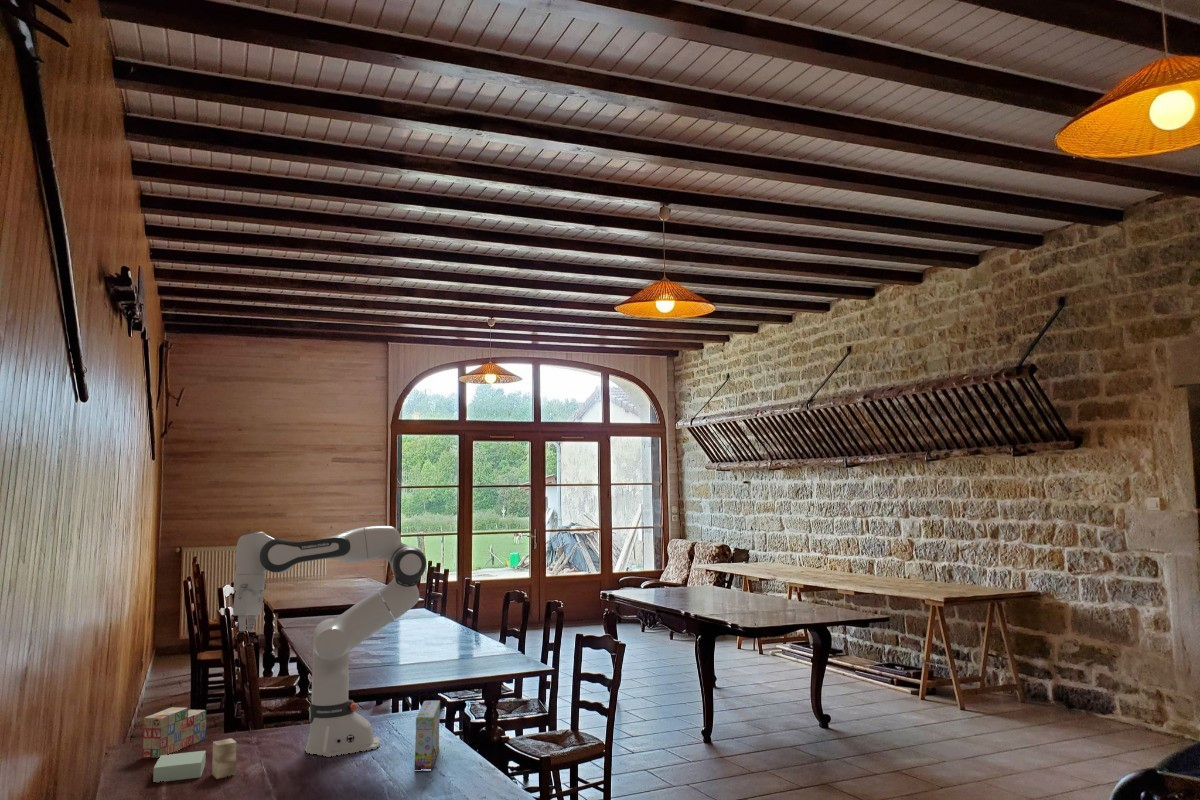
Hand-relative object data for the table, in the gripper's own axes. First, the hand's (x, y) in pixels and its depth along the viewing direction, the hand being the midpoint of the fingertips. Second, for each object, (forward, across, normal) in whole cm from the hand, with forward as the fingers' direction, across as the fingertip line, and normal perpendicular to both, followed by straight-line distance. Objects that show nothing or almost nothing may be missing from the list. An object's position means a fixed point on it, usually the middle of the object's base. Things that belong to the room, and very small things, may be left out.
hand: (246, 630), depth 255 cm
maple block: (+39, -8, +2) cm, 40 cm away
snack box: (+40, -7, -55) cm, 68 cm away
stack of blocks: (+36, +22, +25) cm, 49 cm away
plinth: (+39, -4, +15) cm, 42 cm away
